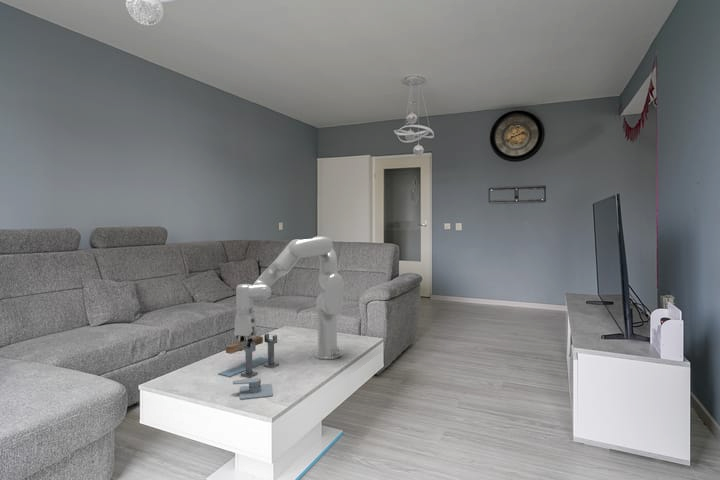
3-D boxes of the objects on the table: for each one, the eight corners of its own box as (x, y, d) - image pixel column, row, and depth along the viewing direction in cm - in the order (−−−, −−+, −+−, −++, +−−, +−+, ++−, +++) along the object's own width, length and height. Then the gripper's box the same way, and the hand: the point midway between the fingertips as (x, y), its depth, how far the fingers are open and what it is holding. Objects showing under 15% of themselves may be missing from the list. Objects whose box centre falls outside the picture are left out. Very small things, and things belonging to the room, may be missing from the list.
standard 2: (279, 365, 194) (279, 334, 194) (272, 368, 190) (272, 337, 189) (269, 363, 197) (269, 332, 197) (262, 366, 193) (262, 335, 192)
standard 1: (258, 374, 182) (257, 341, 182) (250, 378, 178) (249, 344, 177) (248, 372, 185) (247, 340, 185) (239, 375, 181) (239, 342, 180)
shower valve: (233, 376, 167) (271, 372, 171) (233, 389, 167) (271, 385, 171) (232, 387, 155) (273, 383, 159) (232, 402, 155) (273, 397, 159)
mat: (271, 360, 202) (271, 359, 202) (229, 377, 179) (229, 376, 179) (260, 358, 205) (260, 356, 205) (218, 374, 183) (218, 373, 183)
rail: (262, 343, 200) (262, 336, 199) (230, 353, 182) (230, 347, 182) (258, 342, 201) (258, 335, 201) (225, 352, 184) (225, 346, 184)
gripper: (264, 311, 190) (264, 351, 191) (238, 308, 199) (238, 346, 199) (252, 314, 184) (252, 355, 184) (226, 310, 192) (226, 350, 193)
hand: (245, 350), depth 192 cm, fingers closed on rail, 3 cm apart
